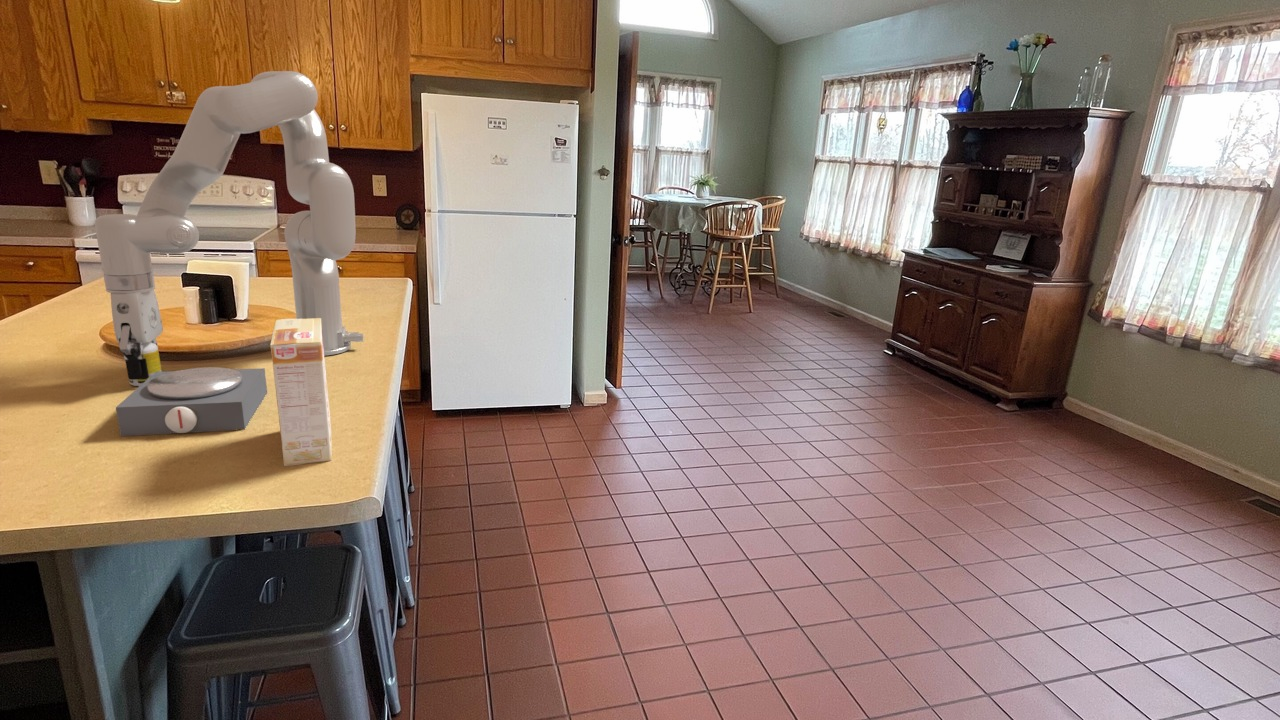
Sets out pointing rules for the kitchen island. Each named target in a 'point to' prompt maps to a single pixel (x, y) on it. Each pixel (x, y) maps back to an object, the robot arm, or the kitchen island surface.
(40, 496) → the kitchen island surface
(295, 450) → the coffeecake box
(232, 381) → the scale pan
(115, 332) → the robot arm
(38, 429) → the kitchen island surface
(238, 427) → the scale base
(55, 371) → the kitchen island surface
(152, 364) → the supplement bottle
